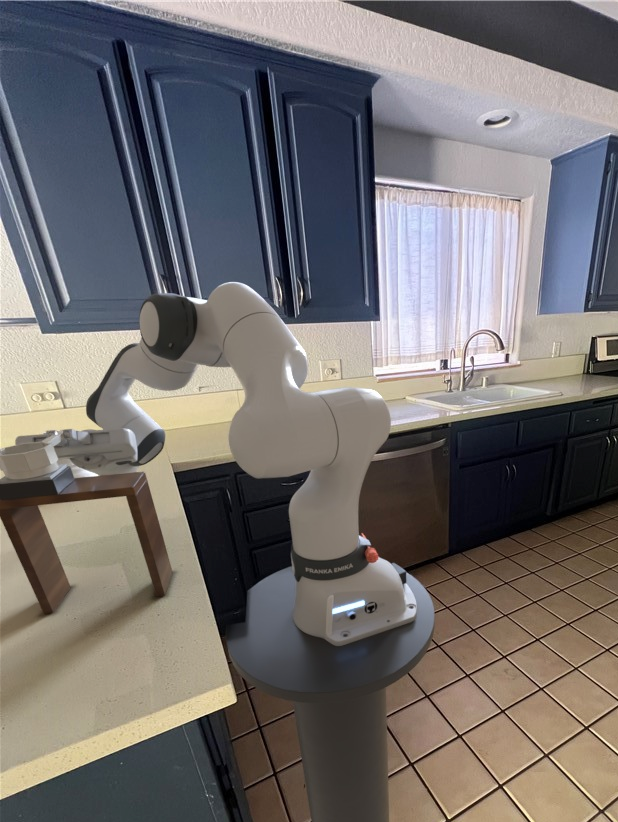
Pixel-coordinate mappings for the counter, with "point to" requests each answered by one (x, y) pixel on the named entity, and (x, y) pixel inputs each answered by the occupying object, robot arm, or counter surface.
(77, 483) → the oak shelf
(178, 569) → the counter surface
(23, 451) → the scoop bowl
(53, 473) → the kitchen scale
